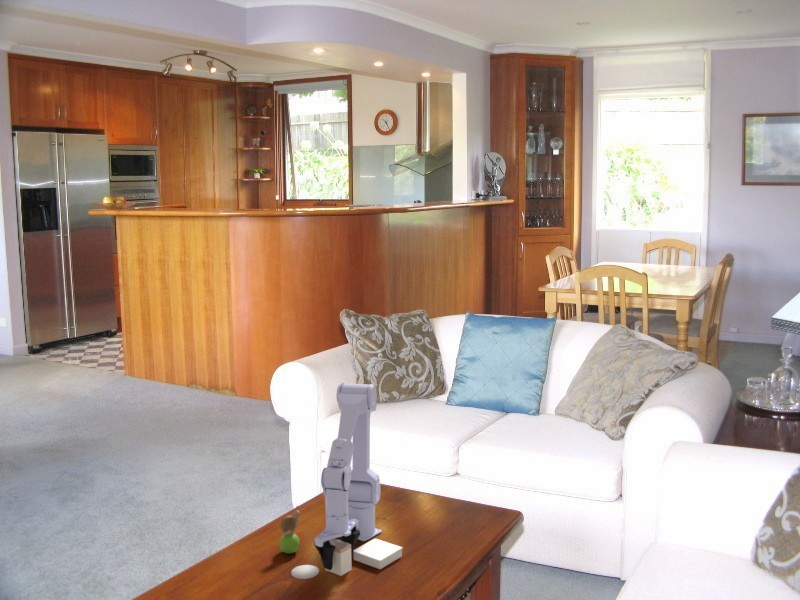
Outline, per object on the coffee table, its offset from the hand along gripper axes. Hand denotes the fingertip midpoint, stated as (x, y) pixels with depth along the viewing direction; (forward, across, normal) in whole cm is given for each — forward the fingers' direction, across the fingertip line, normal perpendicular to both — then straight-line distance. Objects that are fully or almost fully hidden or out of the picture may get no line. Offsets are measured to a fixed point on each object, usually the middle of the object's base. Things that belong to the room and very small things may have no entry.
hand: (338, 563), depth 213 cm
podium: (+2, +11, -4) cm, 12 cm away
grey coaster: (+2, -6, +6) cm, 9 cm away
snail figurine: (+2, 0, +17) cm, 17 cm away
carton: (+2, 0, 0) cm, 2 cm away
